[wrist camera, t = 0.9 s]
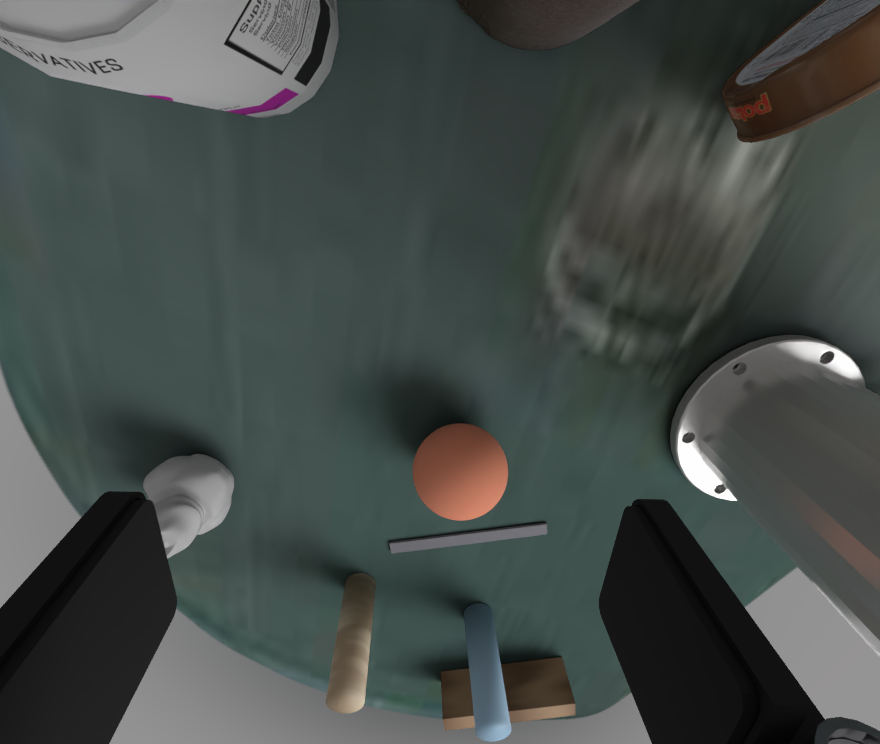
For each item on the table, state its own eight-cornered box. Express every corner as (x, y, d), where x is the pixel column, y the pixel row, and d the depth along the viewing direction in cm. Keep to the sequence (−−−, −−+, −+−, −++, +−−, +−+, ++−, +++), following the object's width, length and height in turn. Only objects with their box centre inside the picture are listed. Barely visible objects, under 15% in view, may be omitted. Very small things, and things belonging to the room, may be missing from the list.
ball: (496, 400, 32) (513, 453, 26) (502, 474, 34) (518, 535, 29) (407, 412, 32) (404, 466, 26) (419, 484, 34) (420, 547, 29)
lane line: (546, 522, 36) (546, 524, 36) (546, 532, 37) (547, 534, 37) (389, 541, 37) (389, 543, 36) (391, 551, 37) (391, 553, 37)
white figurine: (262, 481, 34) (220, 572, 26) (192, 522, 35) (133, 619, 28) (207, 425, 32) (145, 508, 24) (135, 471, 33) (55, 562, 26)
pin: (491, 601, 40) (510, 718, 32) (493, 621, 41) (512, 739, 33) (462, 605, 40) (474, 722, 32) (465, 624, 41) (477, 743, 33)
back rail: (562, 657, 43) (575, 703, 40) (562, 668, 44) (575, 715, 40) (440, 671, 43) (442, 719, 40) (442, 682, 44) (445, 730, 40)
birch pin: (372, 571, 38) (360, 687, 30) (378, 592, 39) (367, 710, 31) (342, 574, 38) (322, 692, 30) (348, 596, 39) (330, 715, 31)
